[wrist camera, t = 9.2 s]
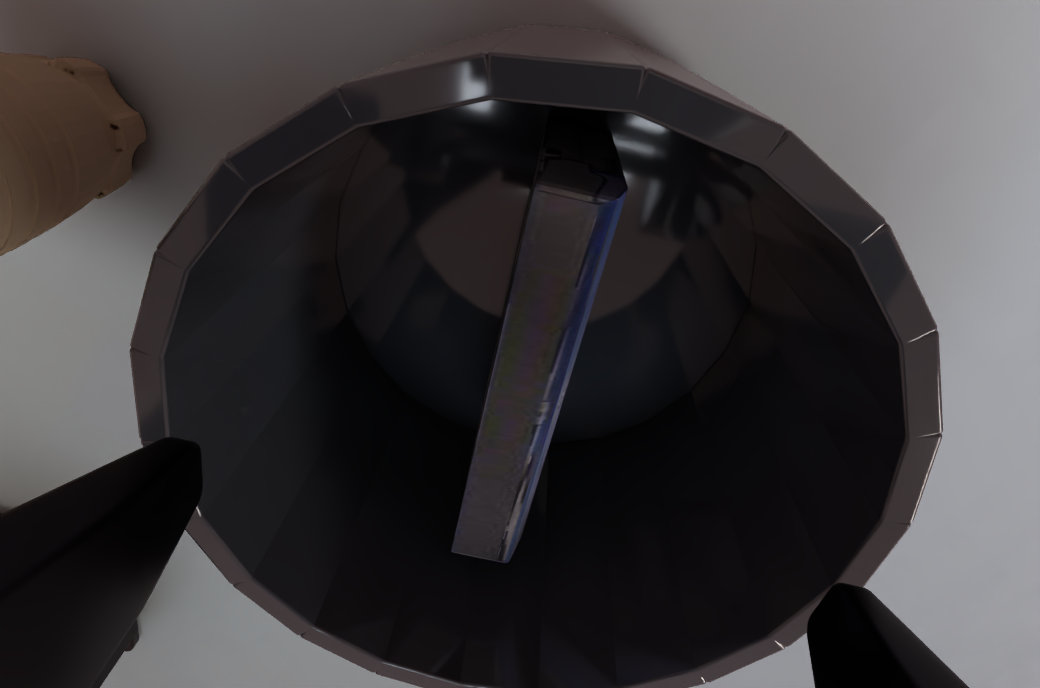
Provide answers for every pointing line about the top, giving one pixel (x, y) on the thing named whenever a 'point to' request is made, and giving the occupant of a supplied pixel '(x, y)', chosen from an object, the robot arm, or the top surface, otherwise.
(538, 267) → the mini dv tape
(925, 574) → the top surface
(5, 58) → the handle
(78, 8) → the top surface
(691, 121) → the pen holder
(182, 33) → the top surface
